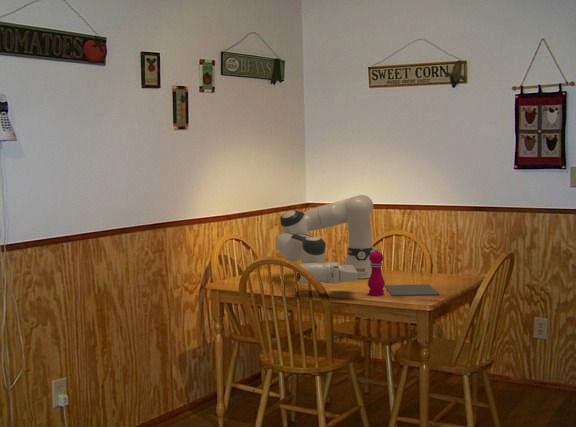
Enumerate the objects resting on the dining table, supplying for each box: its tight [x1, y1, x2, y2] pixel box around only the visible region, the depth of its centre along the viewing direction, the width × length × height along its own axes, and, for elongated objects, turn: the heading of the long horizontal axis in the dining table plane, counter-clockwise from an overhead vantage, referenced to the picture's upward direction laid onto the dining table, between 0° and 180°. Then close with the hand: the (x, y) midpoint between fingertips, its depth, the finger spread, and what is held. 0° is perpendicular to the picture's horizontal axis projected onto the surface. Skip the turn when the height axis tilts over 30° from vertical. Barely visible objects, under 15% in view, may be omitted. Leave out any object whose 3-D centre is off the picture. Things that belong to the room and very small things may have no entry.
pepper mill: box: [367, 247, 386, 296], centre depth 336 cm, size 7×7×20 cm
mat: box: [384, 283, 440, 297], centre depth 343 cm, size 22×20×1 cm
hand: (366, 272), depth 335 cm, fingers open, 8 cm apart
